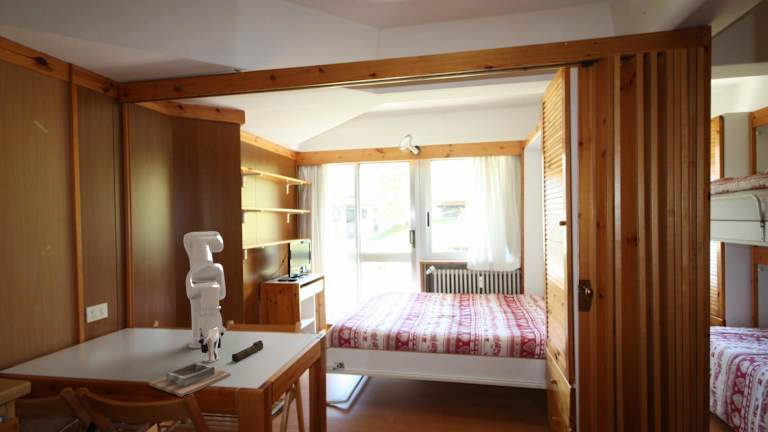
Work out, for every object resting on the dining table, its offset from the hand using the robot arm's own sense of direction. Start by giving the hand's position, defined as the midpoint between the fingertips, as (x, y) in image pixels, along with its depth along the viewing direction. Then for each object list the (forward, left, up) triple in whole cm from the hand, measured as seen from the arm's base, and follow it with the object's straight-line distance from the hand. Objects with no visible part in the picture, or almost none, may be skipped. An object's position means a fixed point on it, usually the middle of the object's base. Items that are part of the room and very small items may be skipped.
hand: (211, 349), depth 165 cm
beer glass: (0, 0, -5) cm, 5 cm away
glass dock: (+13, -18, -5) cm, 23 cm away
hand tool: (+11, +12, -5) cm, 17 cm away
